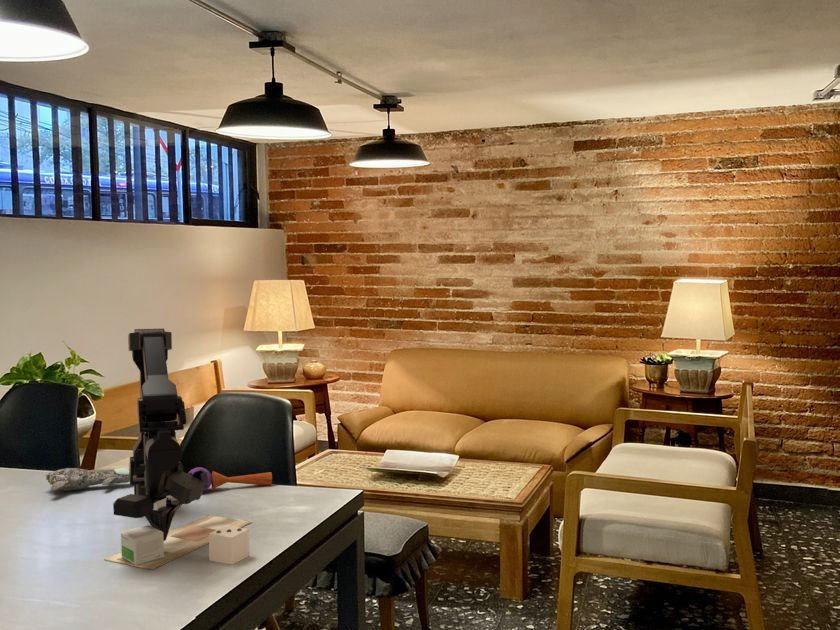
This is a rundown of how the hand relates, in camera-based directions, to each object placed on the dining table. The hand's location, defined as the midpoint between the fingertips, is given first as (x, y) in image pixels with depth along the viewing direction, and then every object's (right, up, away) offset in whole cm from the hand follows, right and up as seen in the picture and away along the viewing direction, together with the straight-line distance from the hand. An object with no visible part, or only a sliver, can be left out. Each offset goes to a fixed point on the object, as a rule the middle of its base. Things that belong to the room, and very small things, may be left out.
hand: (162, 540), depth 153 cm
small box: (-2, -2, -5) cm, 6 cm away
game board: (+2, -1, +6) cm, 6 cm away
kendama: (+3, 0, +42) cm, 42 cm away
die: (+13, -2, -4) cm, 14 cm away
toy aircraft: (-30, +1, +42) cm, 51 cm away
